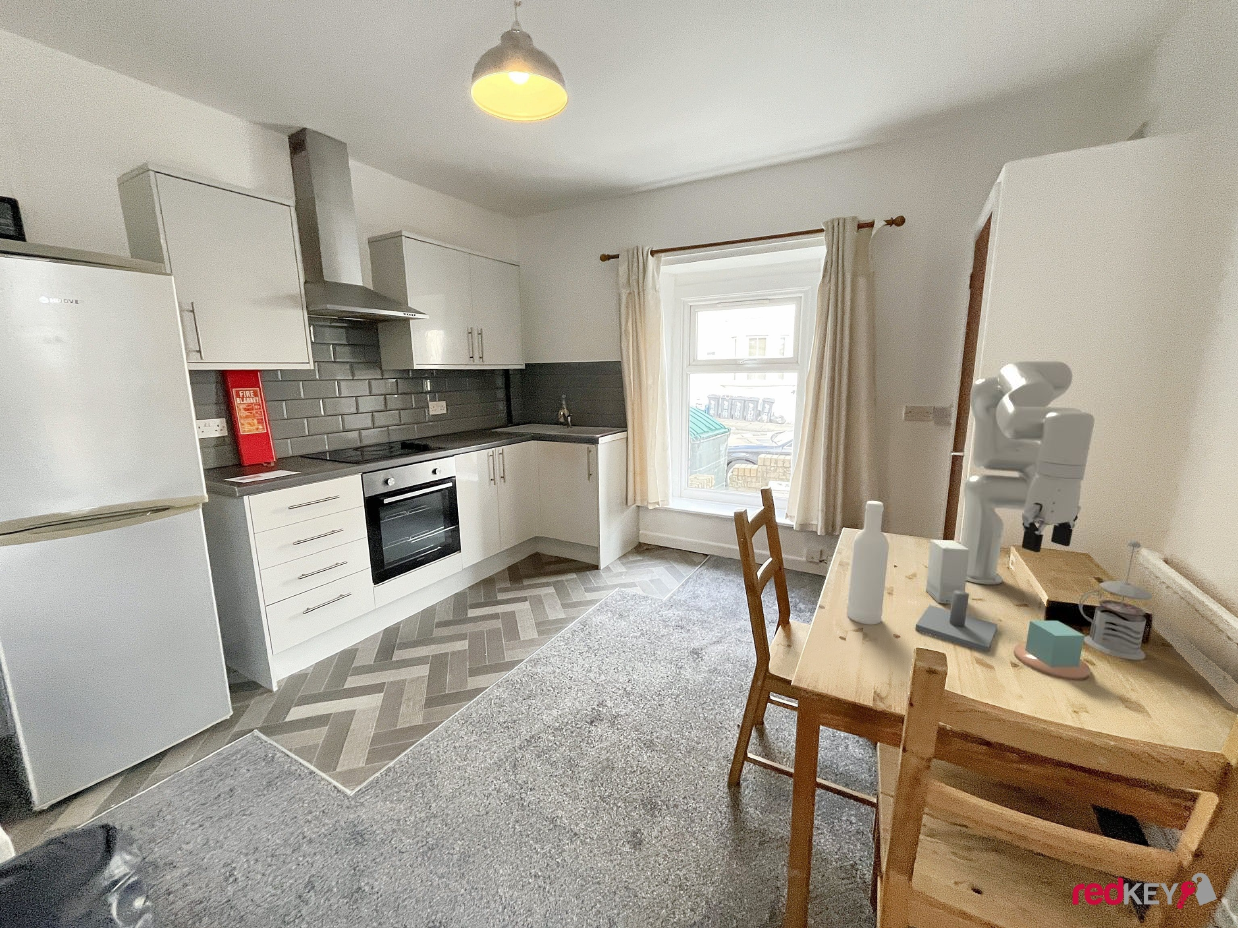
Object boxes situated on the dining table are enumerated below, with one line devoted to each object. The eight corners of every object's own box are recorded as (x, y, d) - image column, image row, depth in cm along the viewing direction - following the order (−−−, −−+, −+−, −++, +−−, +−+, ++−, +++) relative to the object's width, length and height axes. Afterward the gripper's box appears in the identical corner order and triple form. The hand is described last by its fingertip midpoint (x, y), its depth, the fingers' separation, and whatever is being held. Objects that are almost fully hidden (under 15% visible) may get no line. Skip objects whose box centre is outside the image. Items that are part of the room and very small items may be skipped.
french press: (1153, 664, 100) (1178, 552, 96) (1079, 648, 106) (1099, 542, 102) (1136, 643, 109) (1158, 538, 104) (1068, 629, 115) (1086, 530, 110)
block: (1052, 650, 104) (1057, 620, 103) (1078, 666, 98) (1084, 635, 97) (1025, 650, 104) (1030, 620, 103) (1049, 666, 98) (1055, 635, 97)
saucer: (1016, 640, 109) (1017, 636, 109) (1089, 662, 101) (1090, 658, 101) (1010, 662, 101) (1011, 658, 101) (1089, 688, 93) (1090, 683, 93)
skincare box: (963, 605, 126) (971, 550, 124) (936, 603, 128) (943, 548, 125) (949, 592, 134) (956, 539, 132) (923, 590, 136) (929, 538, 133)
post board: (929, 610, 124) (933, 575, 122) (996, 629, 114) (1002, 592, 113) (915, 630, 114) (919, 593, 112) (987, 653, 104) (994, 613, 103)
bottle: (880, 613, 122) (892, 500, 117) (882, 627, 115) (895, 508, 110) (845, 607, 125) (856, 497, 120) (846, 620, 118) (857, 504, 113)
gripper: (1064, 463, 106) (1051, 536, 109) (1012, 470, 100) (999, 546, 104) (1107, 470, 99) (1091, 547, 102) (1054, 477, 93) (1039, 559, 97)
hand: (1045, 547), depth 103 cm, fingers open, 9 cm apart
